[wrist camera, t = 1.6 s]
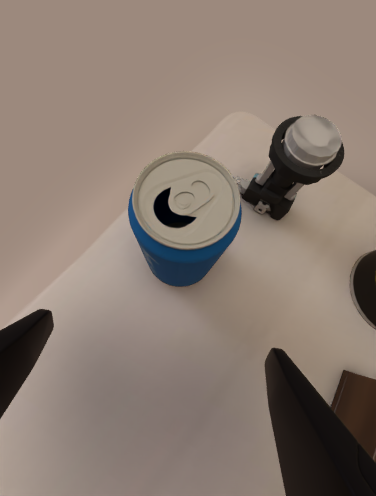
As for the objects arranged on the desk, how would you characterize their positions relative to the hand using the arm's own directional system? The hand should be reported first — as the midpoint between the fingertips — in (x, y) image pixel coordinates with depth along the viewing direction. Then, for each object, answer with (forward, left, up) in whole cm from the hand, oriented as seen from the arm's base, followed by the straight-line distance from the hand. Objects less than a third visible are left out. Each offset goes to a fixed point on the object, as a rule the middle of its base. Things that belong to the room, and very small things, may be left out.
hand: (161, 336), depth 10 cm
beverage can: (+6, +2, -13) cm, 15 cm away
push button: (+16, -2, -13) cm, 21 cm away
